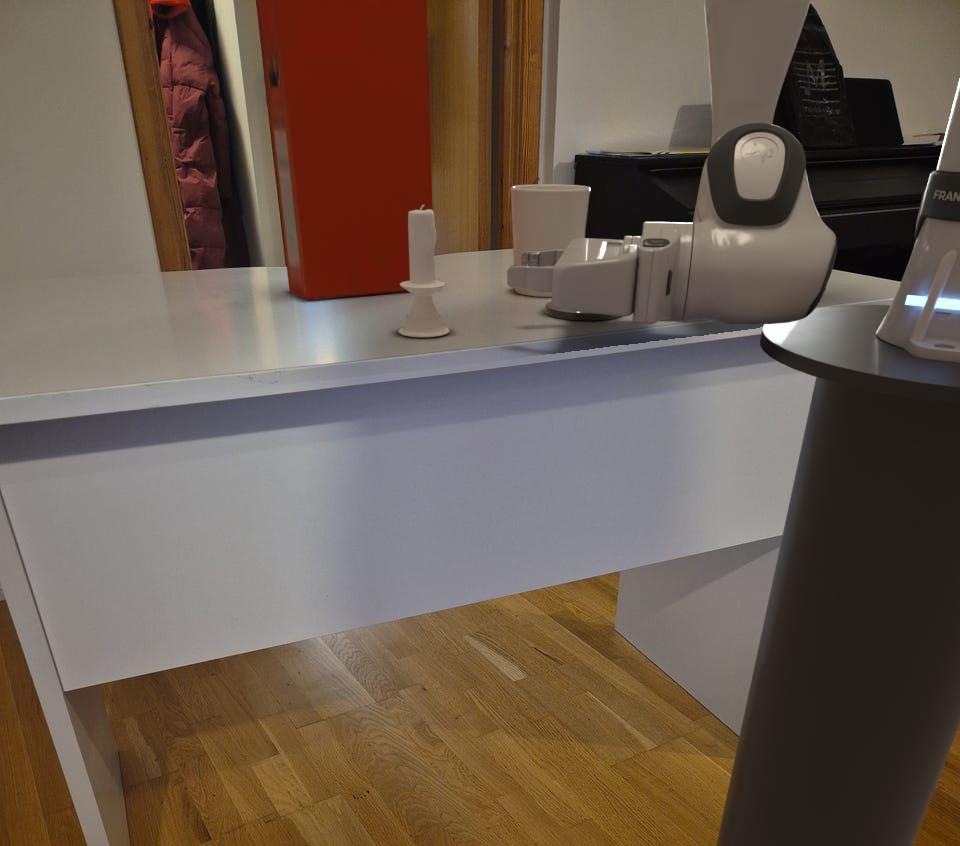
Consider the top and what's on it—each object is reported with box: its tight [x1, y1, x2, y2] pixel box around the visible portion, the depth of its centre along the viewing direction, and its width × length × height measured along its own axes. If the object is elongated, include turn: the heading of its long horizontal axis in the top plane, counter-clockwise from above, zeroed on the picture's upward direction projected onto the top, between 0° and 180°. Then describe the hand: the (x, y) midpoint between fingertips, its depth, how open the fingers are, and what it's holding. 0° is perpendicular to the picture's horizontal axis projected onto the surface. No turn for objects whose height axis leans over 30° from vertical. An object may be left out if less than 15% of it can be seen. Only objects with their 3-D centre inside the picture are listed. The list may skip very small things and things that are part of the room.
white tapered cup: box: [510, 183, 591, 298], centre depth 106 cm, size 10×10×12 cm
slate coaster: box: [544, 300, 621, 322], centre depth 97 cm, size 9×9×1 cm
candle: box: [398, 205, 450, 338], centre depth 85 cm, size 5×5×12 cm
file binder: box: [255, 0, 434, 301], centre depth 101 cm, size 8×17×32 cm, turn 118°
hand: (515, 268), depth 83 cm, fingers open, 8 cm apart
